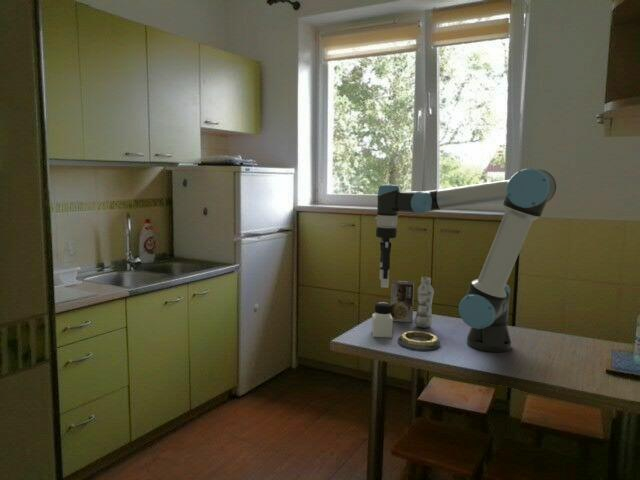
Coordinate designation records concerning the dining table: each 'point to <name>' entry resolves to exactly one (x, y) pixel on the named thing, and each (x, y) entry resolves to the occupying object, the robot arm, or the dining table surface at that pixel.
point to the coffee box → (402, 301)
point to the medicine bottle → (382, 320)
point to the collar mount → (419, 341)
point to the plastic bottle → (424, 303)
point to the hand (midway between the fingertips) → (383, 283)
